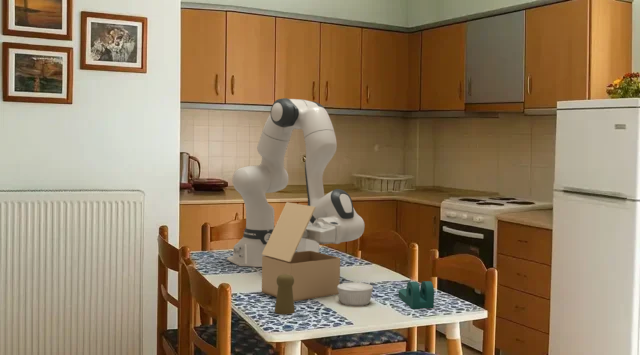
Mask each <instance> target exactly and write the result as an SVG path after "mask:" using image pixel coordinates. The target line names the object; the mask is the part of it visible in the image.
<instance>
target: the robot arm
mask: <svg viewBox="0 0 640 355" xmlns="http://www.w3.org/2000/svg"><path fill="white" fill-rule="evenodd" d="M294 130H302V134H303V138H304V143H305V161H304V175H305V176H304V178H305V184H306V186H305V187H306V194H307V204H306V205H307V206H313V207H316V208H315V211H314V213H313V215H312V217H311V219H310V222H311V223H312V225H311V224H308V226H307V228H306V230H305V232H304V234H303V236H302V238H305V239H309V240H314V241H316V242H317V243H319V245H328V244H329V245H330V244H332V245H340V244H341V243H345V242H351V241H355V240H358V239H359V238H361V237H362V236H363V234H364V232H365V225H366V224H365V221H364V219H363V218H362V216H360V215H359V214H358V213H357V211H356V210H355V208H354V205H353V204H354V203H353V201H352V198H351V196H350V194H348V192H346V191H345V190H344V189H339V188H335V189H333V190H331V191H330V192H328V193H326V194H325V190H324V181H323V180H324V179H323V177H324V172H325V170H326V167H327V166H328V164H330V162H331V160H332V159H333V157H334V156H335V155H336V152H337V149H338V146H337V145H338V144H337V137H336V132H335V129H334V125H333V123H332V120H331V117H330V116H329V113H328V112H327V110H326V109H325V107H324V106H323V105H322V104H321V103H319V102H317V101H311V100H307V99H301V98H300V99H297V98H287V97H285V98H277V99H276V100H275V101H274V102H273V103H272V105H271V107H270V113H269V115H268V117H267V119H266V121H265V123H264V126H263V129H262V131H261V133H260V137H259V140H258V143H257V147H256V149H257V152H258V154H259V155H260V157H261V161H260V162H261V163H260V164H259V165H246V166H243V167H240V168H238V169H236V170H235V171H234V173H233V174H232V180H231V181H232V185H233V188H234V190H235V191H236V192H238V194H239V195H240V197H242V200H243V204H244V207H245V221H246V222H245V223H246V224H245V228H243V229H242V232H243V235H242V238H241V239H240V240H238V242H237V243H235V244H234V246H233V252H232V253H233V254H232V255H231V256H228V257H227V258H226V261H228V262H231V263H233V264H235V265H237V266H239V267H255V268H258V267H259V268H262V256H266V255H263V254H262V253H263V251H264V248H265V246H266V244H267V242H268V240H269V238H270V236H271V234H272V232H273V230H274V228H275V208H274V206H273V205H271V204H269V202H268V200H267V196H266V194H269V193H270V194H271V193H276V192H280V191H282V190H284V189H286V187H287V186H288V184H289V179H290V177H289V174H288V171H287V169H286V168H285V155H286V152H287V149H288V146H289V144H290V140H291V137H292V135H293V131H294Z"/></svg>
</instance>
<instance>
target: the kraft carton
mask: <svg viewBox="0 0 640 355" xmlns="http://www.w3.org/2000/svg"><path fill="white" fill-rule="evenodd" d="M282 274H288V275H292V276H293V278H294V284H293V286H292V290H293V299H294V303H295V302H299V301H304V300H312V299H317V298H323V297H328V296H336V295H339V293H338V289H337V286H338V285H339V284H341V257H338V256H334V255H330V254H326V253H322V252H319V253H318V252H314V251H302V252H297V251H295V254H294V256H293V258H292V260H291V262H287V261H284V260H280V259H277V258H273V257H269V256H262V267H261V293H263V294H266V295H269V296H272V297H275V298H277V292H278V285H277V277H278V276H279V275H282Z"/></svg>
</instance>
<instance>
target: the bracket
mask: <svg viewBox="0 0 640 355" xmlns="http://www.w3.org/2000/svg"><path fill="white" fill-rule="evenodd" d="M397 296H398V298H399V299H400V300H402V302H404V303H405V304H406V305H407V306H408V307H409V308H410V309H412V310H421V309H420V308H434V306H435V305H434V304H435V289H434V284H433V282H432V281H430V280H427V281H426V280H425V281H424V280H423V281H422V282H421V283H420V284H419V282H418V281H414V280H413V281H408V282H407V283H406V288H400V289H398V295H397Z"/></svg>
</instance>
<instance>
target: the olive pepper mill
mask: <svg viewBox="0 0 640 355" xmlns="http://www.w3.org/2000/svg"><path fill="white" fill-rule="evenodd" d="M293 284H294V278H293V276H292V275H288V274H282V275H279V276H278V277H277V285H278V292H277V297H275V298H276V299H275V307H274V313H276V314H279V315H291V314H295V313H296V310H295V302H294V299H293V290H292V286H293Z"/></svg>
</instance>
